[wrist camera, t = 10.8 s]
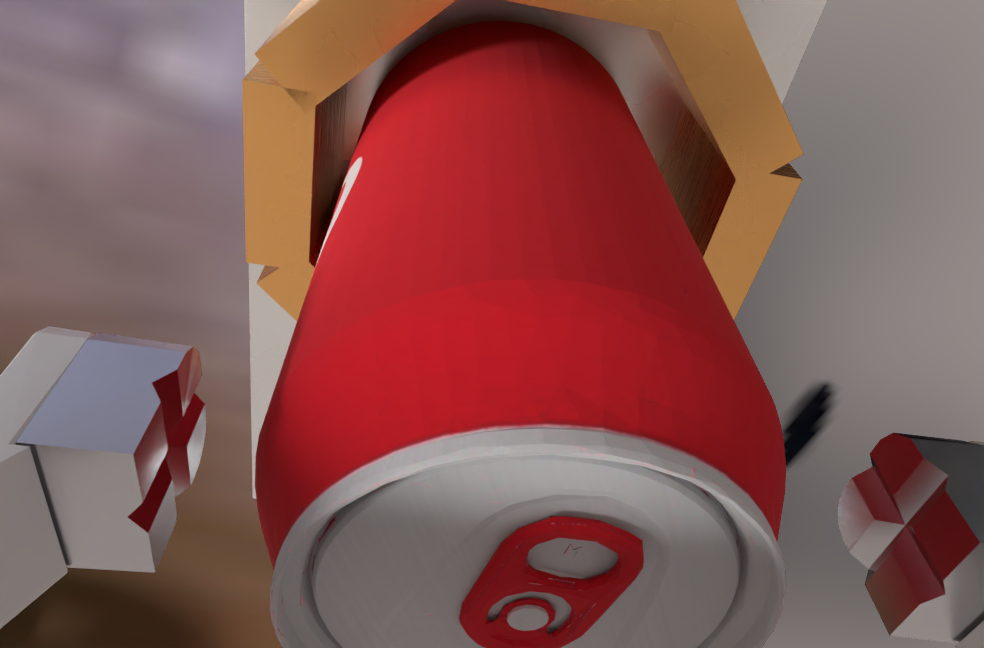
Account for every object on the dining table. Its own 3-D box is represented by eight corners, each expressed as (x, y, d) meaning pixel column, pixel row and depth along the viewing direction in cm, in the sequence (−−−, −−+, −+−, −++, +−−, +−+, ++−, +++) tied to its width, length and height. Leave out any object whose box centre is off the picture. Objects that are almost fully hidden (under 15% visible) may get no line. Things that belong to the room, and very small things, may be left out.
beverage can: (335, 216, 18) (167, 713, 8) (413, -38, 14) (282, 300, 5) (561, 292, 19) (644, 789, 10) (680, 77, 16) (995, 513, 6)
